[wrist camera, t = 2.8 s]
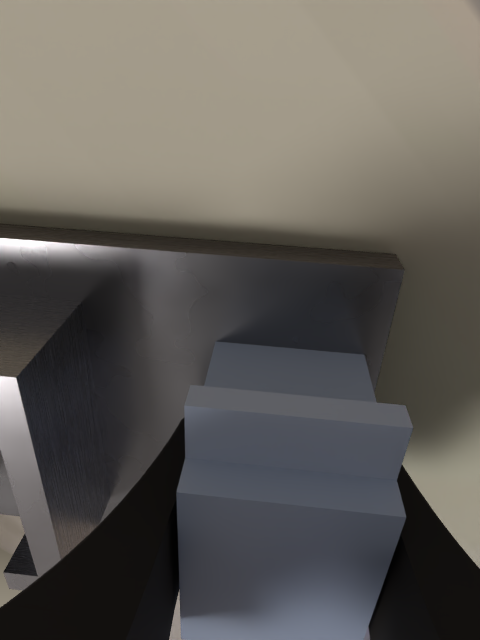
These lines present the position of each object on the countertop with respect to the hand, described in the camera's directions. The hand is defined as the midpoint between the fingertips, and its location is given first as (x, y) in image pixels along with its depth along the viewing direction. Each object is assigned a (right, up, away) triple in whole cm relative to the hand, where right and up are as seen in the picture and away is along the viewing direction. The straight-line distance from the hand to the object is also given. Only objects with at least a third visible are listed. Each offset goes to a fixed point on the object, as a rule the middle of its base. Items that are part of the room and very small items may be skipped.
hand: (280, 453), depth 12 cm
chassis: (-5, +1, +3) cm, 6 cm away
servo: (0, +1, +1) cm, 1 cm away
